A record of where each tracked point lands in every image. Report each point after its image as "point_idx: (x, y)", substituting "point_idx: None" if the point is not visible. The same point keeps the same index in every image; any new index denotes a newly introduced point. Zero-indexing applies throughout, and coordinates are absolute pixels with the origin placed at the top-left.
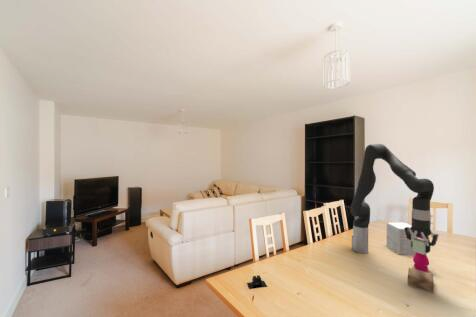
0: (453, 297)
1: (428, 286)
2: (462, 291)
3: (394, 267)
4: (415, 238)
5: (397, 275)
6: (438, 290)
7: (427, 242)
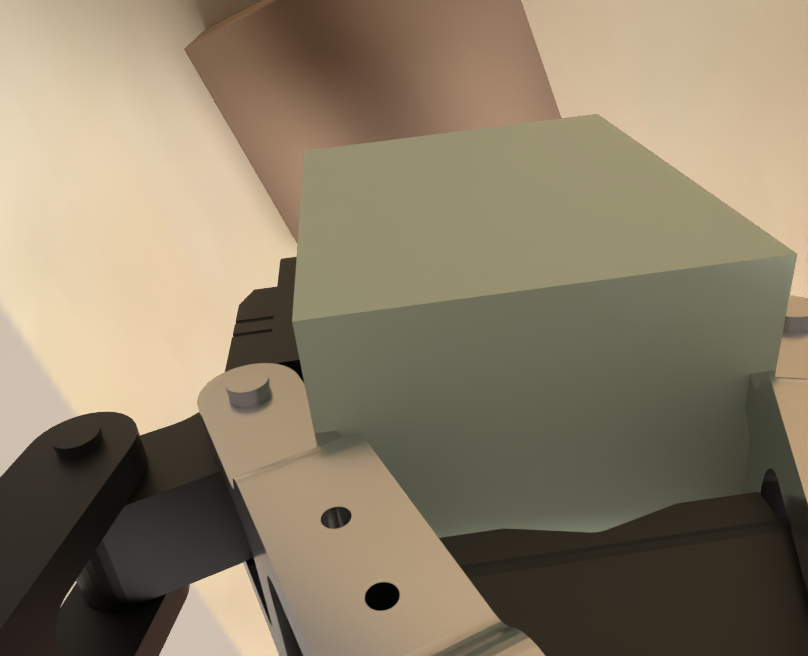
0: (54, 132)
1: (245, 11)
2: (108, 350)
3: (740, 210)
4: (742, 485)
5: (640, 29)
6: (209, 135)
7: (242, 452)
